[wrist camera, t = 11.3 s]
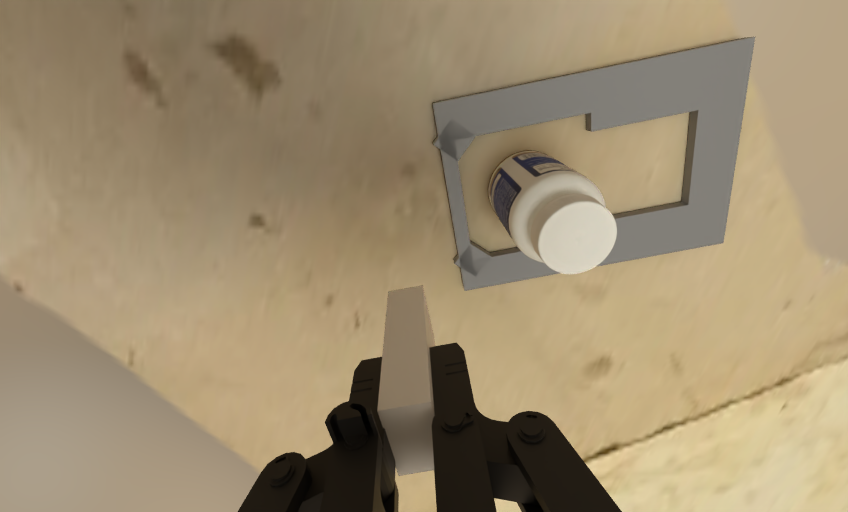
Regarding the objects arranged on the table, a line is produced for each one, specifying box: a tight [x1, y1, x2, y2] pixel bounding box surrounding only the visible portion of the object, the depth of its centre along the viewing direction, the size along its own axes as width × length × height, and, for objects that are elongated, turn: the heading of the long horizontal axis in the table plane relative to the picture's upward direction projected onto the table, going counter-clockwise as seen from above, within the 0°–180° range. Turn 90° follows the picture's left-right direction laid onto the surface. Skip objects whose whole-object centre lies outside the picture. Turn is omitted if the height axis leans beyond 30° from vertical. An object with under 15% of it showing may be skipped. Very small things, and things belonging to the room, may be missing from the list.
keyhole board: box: [432, 37, 755, 291], centre depth 28 cm, size 14×20×1 cm
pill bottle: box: [488, 151, 617, 274], centre depth 24 cm, size 5×5×10 cm
